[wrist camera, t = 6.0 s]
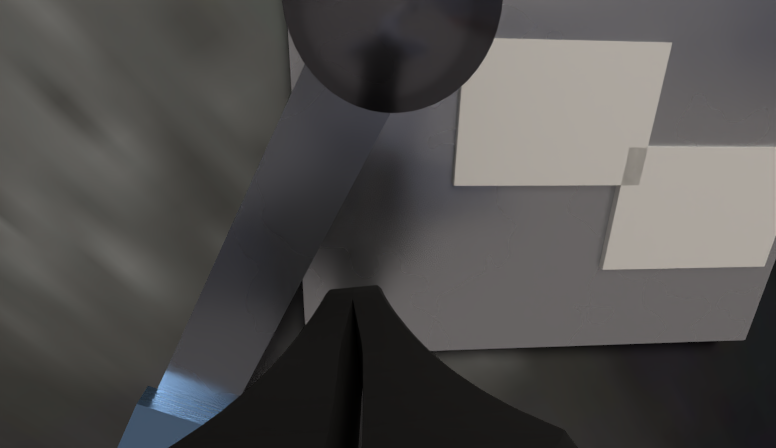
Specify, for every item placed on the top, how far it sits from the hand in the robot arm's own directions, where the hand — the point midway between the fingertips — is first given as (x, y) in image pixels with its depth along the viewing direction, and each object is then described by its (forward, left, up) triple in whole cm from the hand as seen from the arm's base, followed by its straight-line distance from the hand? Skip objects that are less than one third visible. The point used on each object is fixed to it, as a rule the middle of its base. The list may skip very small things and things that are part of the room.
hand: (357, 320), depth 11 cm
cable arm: (+2, -3, -1) cm, 4 cm away
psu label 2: (-9, -3, -1) cm, 10 cm away
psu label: (-5, -5, -1) cm, 7 cm away
